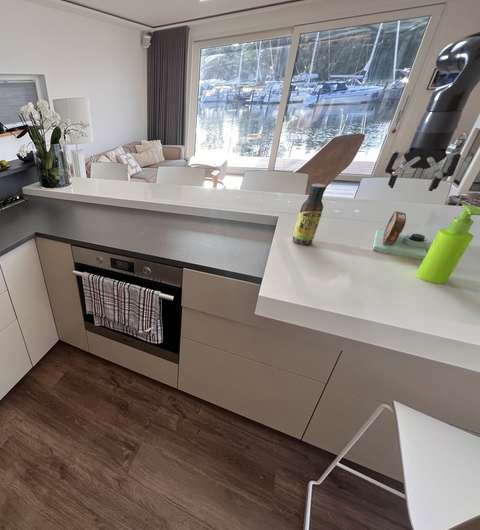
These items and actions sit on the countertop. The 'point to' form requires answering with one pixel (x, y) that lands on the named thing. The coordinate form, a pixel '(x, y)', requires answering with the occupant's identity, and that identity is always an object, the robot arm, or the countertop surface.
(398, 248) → the scale
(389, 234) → the tin
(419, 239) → the tare button
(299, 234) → the sauce bottle
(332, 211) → the countertop surface
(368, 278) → the countertop surface
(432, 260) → the soap dispenser
